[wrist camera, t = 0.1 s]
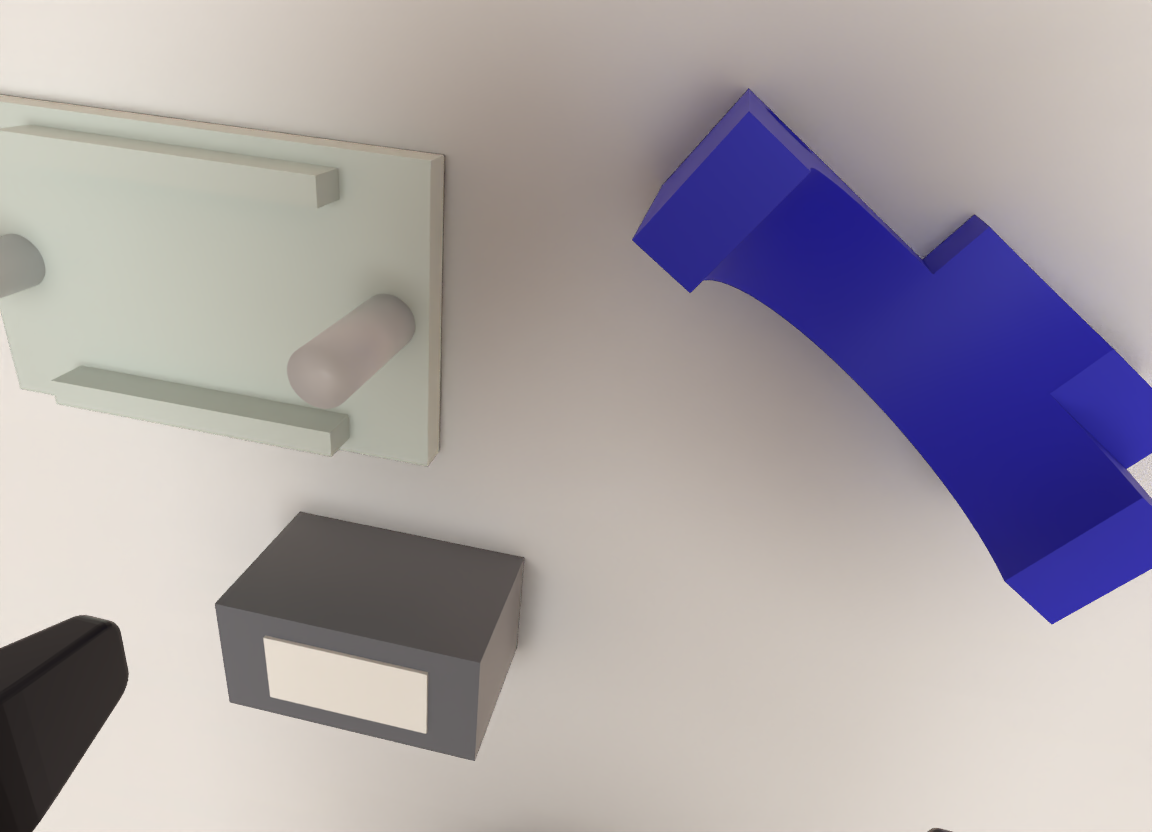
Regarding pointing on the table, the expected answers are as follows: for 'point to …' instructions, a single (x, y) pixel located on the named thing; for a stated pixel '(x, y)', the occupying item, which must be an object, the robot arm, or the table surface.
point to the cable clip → (932, 352)
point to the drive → (373, 632)
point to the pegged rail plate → (224, 278)
